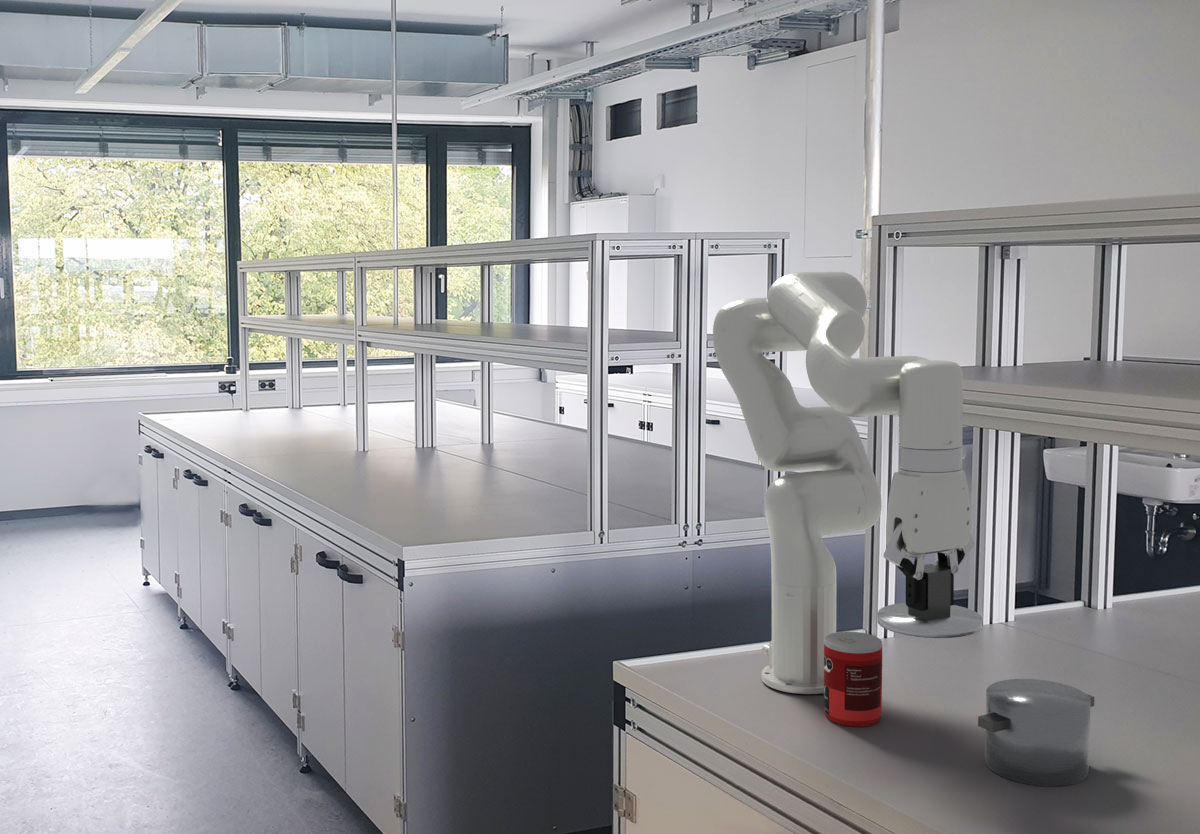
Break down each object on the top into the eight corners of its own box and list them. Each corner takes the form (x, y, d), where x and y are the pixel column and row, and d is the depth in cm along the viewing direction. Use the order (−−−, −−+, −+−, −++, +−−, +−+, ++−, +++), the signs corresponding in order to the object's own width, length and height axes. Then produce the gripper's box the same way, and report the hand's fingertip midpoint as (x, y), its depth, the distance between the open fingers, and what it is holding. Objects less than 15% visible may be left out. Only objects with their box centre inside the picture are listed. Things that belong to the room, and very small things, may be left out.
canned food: (839, 702, 169) (840, 627, 168) (891, 715, 164) (892, 638, 163) (813, 718, 163) (813, 641, 162) (866, 732, 158) (866, 652, 157)
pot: (948, 762, 148) (949, 693, 147) (1047, 735, 156) (1049, 669, 155) (1022, 799, 137) (1024, 724, 136) (1125, 768, 145) (1127, 697, 144)
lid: (856, 618, 152) (857, 564, 151) (933, 604, 157) (933, 552, 156) (924, 644, 140) (924, 586, 139) (1004, 628, 146) (1005, 572, 145)
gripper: (960, 451, 153) (959, 590, 155) (857, 462, 146) (857, 608, 148) (1003, 458, 147) (1001, 603, 149) (897, 470, 139) (896, 622, 141)
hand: (929, 604), depth 148 cm, fingers closed on lid, 3 cm apart
